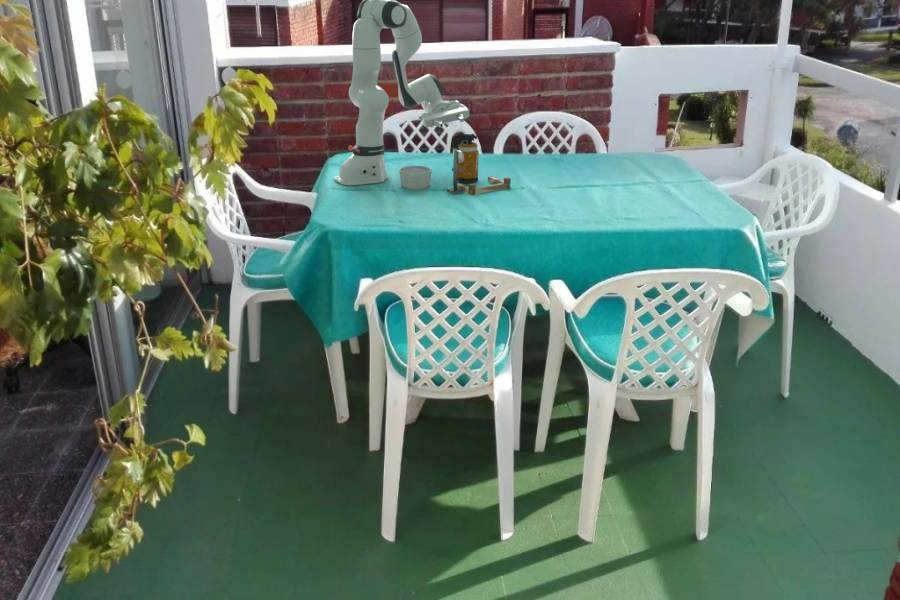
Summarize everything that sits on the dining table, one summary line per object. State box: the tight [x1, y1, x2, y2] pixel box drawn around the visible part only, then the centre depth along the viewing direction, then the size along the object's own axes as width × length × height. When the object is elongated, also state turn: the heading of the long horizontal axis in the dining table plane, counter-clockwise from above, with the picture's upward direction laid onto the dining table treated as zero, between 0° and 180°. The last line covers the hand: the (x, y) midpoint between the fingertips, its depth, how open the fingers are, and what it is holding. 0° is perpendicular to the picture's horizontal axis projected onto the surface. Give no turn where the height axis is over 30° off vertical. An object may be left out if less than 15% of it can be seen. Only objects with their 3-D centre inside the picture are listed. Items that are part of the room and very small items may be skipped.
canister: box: [451, 132, 480, 184], centre depth 345 cm, size 9×11×20 cm
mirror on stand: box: [445, 148, 465, 195], centre depth 331 cm, size 6×5×17 cm
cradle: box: [457, 175, 512, 196], centre depth 339 cm, size 13×20×4 cm, turn 125°
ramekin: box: [398, 165, 433, 191], centre depth 341 cm, size 13×13×7 cm
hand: (451, 123), depth 349 cm, fingers open, 8 cm apart
